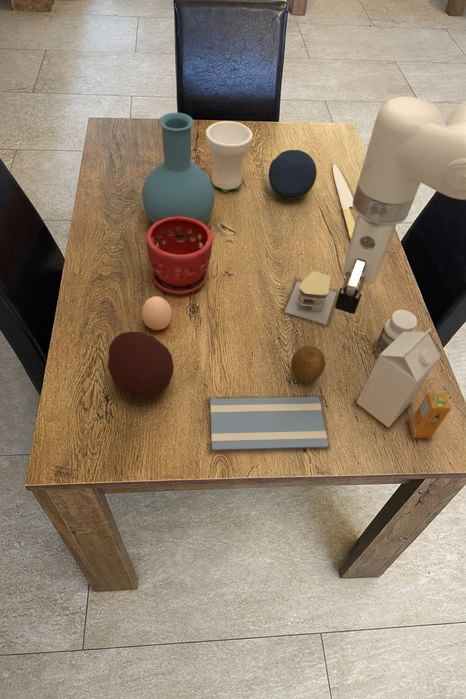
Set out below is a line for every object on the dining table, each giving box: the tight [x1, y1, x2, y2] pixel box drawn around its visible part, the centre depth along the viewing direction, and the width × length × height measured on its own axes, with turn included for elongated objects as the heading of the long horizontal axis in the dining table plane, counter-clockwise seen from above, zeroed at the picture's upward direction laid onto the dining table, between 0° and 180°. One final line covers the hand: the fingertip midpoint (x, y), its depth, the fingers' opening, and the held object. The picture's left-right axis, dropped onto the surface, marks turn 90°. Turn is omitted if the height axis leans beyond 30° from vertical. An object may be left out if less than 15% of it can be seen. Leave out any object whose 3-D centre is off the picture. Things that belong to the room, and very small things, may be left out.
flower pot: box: [146, 217, 213, 295], centre depth 104 cm, size 13×13×12 cm
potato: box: [107, 331, 175, 399], centre depth 88 cm, size 11×13×10 cm
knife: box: [332, 163, 356, 240], centre depth 129 cm, size 1×33×4 cm
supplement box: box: [408, 392, 452, 440], centre depth 86 cm, size 3×3×10 cm
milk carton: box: [356, 328, 441, 428], centre depth 85 cm, size 7×7×19 cm
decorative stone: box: [268, 149, 318, 200], centre depth 126 cm, size 12×12×10 cm
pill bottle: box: [374, 309, 418, 357], centre depth 96 cm, size 6×6×10 cm
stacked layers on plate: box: [284, 270, 337, 326], centre depth 105 cm, size 10×9×6 cm
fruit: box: [290, 344, 326, 383], centre depth 92 cm, size 6×6×8 cm
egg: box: [141, 295, 173, 331], centre depth 98 cm, size 6×6×8 cm
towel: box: [209, 396, 329, 452], centre depth 88 cm, size 20×10×1 cm, turn 93°
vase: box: [141, 112, 216, 236], centre depth 111 cm, size 16×16×25 cm
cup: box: [205, 120, 254, 193], centre depth 125 cm, size 11×11×14 cm
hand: (352, 289), depth 80 cm, fingers open, 9 cm apart
